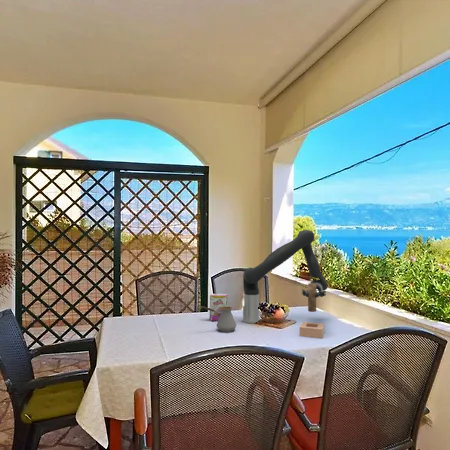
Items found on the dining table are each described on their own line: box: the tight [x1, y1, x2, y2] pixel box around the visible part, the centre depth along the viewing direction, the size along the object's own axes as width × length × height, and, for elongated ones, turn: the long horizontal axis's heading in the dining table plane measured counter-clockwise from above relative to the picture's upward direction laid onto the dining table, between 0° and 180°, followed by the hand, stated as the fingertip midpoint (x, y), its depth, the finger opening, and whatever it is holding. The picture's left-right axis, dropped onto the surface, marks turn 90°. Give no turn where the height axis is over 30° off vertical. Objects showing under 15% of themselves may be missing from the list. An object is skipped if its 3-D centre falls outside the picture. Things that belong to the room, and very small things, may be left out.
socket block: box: [298, 321, 325, 339], centre depth 207 cm, size 12×12×5 cm
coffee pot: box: [199, 305, 237, 333], centre depth 214 cm, size 21×12×15 cm, turn 109°
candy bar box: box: [209, 293, 229, 322], centre depth 236 cm, size 11×5×16 cm, turn 84°
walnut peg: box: [307, 282, 317, 313], centre depth 207 cm, size 4×4×15 cm
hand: (311, 295), depth 205 cm, fingers closed on walnut peg, 4 cm apart
